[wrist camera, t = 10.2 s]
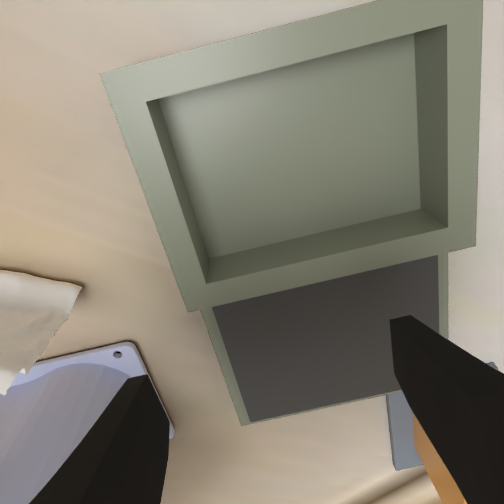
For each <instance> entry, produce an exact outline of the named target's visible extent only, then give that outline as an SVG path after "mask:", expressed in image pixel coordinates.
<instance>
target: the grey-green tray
mask: <svg viewBox="0 0 504 504" xmlns="http://www.w3.org/2000/svg"><path fill="white" fill-rule="evenodd" d="M482 24H483V0H377V1H373V2H369V3H366V4H362V5H358V6H354V7H350V8H347V9H343V10H339V11H335V12H331V13H328V14H324V15H320V16H316V17H312V18H309V19H305V20H301V21H297V22H293V23H290V24H286V25H282V26H278V27H274V28H271V29H267V30H263V31H259V32H255V33H252V34H248V35H244V36H240V37H236V38H233V39H229V40H225V41H221V42H217V43H214V44H210V45H206V46H202V47H198V48H195V49H191V50H187V51H183V52H179V53H176V54H172V55H168V56H164V57H160V58H157V59H153V60H149V61H145V62H141V63H137V64H134V65H130V66H126V67H122V68H118V69H115V70H111V71H107V72H103V73H99V74H100V76H101V79H102V82H103V85H104V87H105V90H106V93H107V95H108V98H109V101H110V103H111V106H112V109H113V112H114V114H115V117H116V120H117V122H118V125H119V128H120V130H121V133H122V136H123V139H124V141H125V144H126V147H127V149H128V152H129V155H130V157H131V160H132V163H133V166H134V168H135V171H136V174H137V176H138V179H139V182H140V184H141V187H142V190H143V192H144V195H145V198H146V201H147V203H148V206H149V209H150V211H151V214H152V217H153V219H154V222H155V225H156V228H157V230H158V233H159V236H160V238H161V241H162V244H163V246H164V249H165V252H166V255H167V257H168V260H169V263H170V265H171V268H172V271H173V273H174V276H175V279H176V282H177V284H178V287H179V290H180V292H181V295H182V298H183V300H184V303H185V306H186V309H187V311H188V312H192V311H197V310H201V313H202V316H203V319H204V321H205V324H206V327H207V330H208V333H209V336H210V338H211V341H212V344H213V347H214V350H215V353H216V356H217V358H218V361H219V364H220V367H221V370H222V373H223V375H224V378H225V381H226V384H227V387H228V390H229V393H230V395H231V398H232V401H233V404H234V407H235V410H236V412H237V415H238V418H239V421H240V424H241V426H244V425H248V424H253V423H257V422H262V421H267V420H271V419H276V418H281V417H285V416H290V415H294V414H299V413H304V412H308V411H313V410H318V409H322V408H327V407H332V406H336V405H341V404H345V403H350V402H355V401H359V400H364V399H369V398H373V397H378V396H382V395H387V394H392V393H396V392H401V391H402V389H401V387H400V385H399V383H398V381H397V378H396V376H395V374H394V367H393V355H392V344H391V333H390V321H389V320H390V319H394V318H399V317H403V316H408V315H411V316H413V317H415V318H416V319H418V320H419V321H421V322H422V323H424V324H425V325H427V326H428V327H430V328H431V329H433V330H434V331H436V332H437V333H438V334H440V335H441V336H443V337H445V338H446V339H448V252H452V251H456V250H461V249H465V248H469V247H474V246H476V219H477V186H478V154H479V121H480V89H481V56H482Z"/></svg>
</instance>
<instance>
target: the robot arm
mask: <svg viewBox="0 0 504 504" xmlns="http://www.w3.org/2000/svg"><path fill="white" fill-rule="evenodd" d="M389 321H390V333H391V344H392V355H393V367H394V374H395V376H396V378H397V381H398V383H399V385H400V387H401V389H402V392H403V394H404V396H405V398H406V400H407V402H408V404H409V406H410V408H411V410H412V411H413V413H414V415H415V416H416V418H417V420H418V421H419V423H420V425H421V426H422V428H423V430H424V431H425V433H426V435H427V436H428V438H429V440H430V441H431V443H432V445H433V446H434V448H435V450H436V451H437V453H438V455H439V456H440V458H441V459H442V461H443V463H444V464H445V466H446V468H447V469H448V471H449V473H450V474H451V476H452V478H453V479H454V481H455V483H456V484H457V486H458V488H459V490H460V491H461V493H462V495H463V497H464V499H465V500H466V502H467V504H504V374H503V373H501V372H500V371H498V370H496V369H494V368H493V367H491V366H489V365H487V364H486V363H484V362H482V361H481V360H479V359H478V358H476V357H474V356H473V355H471V354H469V353H468V352H466V351H465V350H463V349H461V348H460V347H458V346H457V345H455V344H454V343H452V342H451V341H449V340H448V339H446V338H445V337H443V336H441V335H440V334H438V333H437V332H436V331H434V330H433V329H431V328H430V327H428V326H427V325H425V324H424V323H422V322H421V321H419V320H418V319H416V318H415V317H413V316H411V315H408V316H403V317H399V318H394V319H390V320H389ZM115 351H119V352H121V353H122V354H118V353H116V352H115ZM6 392H7V393H6V395H3V394H0V504H160V502H161V497H162V491H163V485H164V479H165V473H166V467H167V461H168V451H169V440H170V439H172V438H173V437H174V432H175V430H174V427H173V425H172V423H171V421H170V419H169V417H168V415H167V412H166V410H165V408H164V406H163V404H162V402H161V400H160V397H159V395H158V393H157V391H156V389H155V387H154V385H153V382H152V380H151V378H150V376H149V374H148V372H147V370H146V367H145V365H144V363H143V361H142V359H141V357H140V355H139V352H138V350H137V348H136V346H135V345H134V344H132V343H130V342H123V343H118V344H114V345H110V346H105V347H101V348H97V349H92V350H88V351H84V352H79V353H75V354H70V355H66V356H62V357H57V358H53V359H49V360H44V361H40V362H36V363H34V365H33V367H32V368H31V369H30V370H29V373H28V374H24V373H21V372H19V373H18V374H17V375H16V377H15V379H14V381H13V382H12V383H11V386H10V387H9V389H7V391H6Z"/></svg>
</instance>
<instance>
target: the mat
mask: <svg viewBox="0 0 504 504" xmlns="http://www.w3.org/2000/svg"><path fill="white" fill-rule="evenodd" d="M487 365H489V366H491V367H493V368H494V369H496V370H498V368H497V366H496V365H495V364H494V363H489V364H487ZM386 400H387V410H388V420H389V429H390V439H391V448H392V458H393V465H394V467H395V470H396V471H397V470H402V469H407V468H411V467H416V466H421V465H423V463H422V461H421V459H420V457H419V455H418V453H417V451H416V449H415V447H414V429H413V412H412V410H411V408H410V406H409V404H408V402H407V400H406V398H405V396H404V394H403V392H402V391H401V392H396V393H392V394H387V395H386Z"/></svg>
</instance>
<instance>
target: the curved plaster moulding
mask: <svg viewBox="0 0 504 504" xmlns="http://www.w3.org/2000/svg"><path fill="white" fill-rule="evenodd" d="M81 288H82V287H80V286H78V285H75V284H72V283H68V282H60V281H54V280H50V279H45V278H40V277H36V276H32V275H30V274H26V273H20V272H13V271H7V270H0V394H3V395H6V393H7V392H6V391H7V389H9V387H10V386H11V383H12V382H13V381H14V379H15V377H16V375H17V374H18V373H19V372H21V373H24V374H28V373H29V370H30V369H31V368H32V367H33V365H34V363H35V362H36V361H37V359H38V357H39V356H40V355H41V354H42V352H43V350H44V349H45V348H46V345H47V344H48V341H49V340H50V339H51V337H52V336H53V335H55V333H56V332H57V331H58V330H59V328H60V327H61V326H62V324H63V323H64V322H65V321H67V319H68V317H69V315H70V312H71V309H72V308H73V305H74V303H75V300H76V298H77V296H78V294H79V292H80V290H81Z"/></svg>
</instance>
